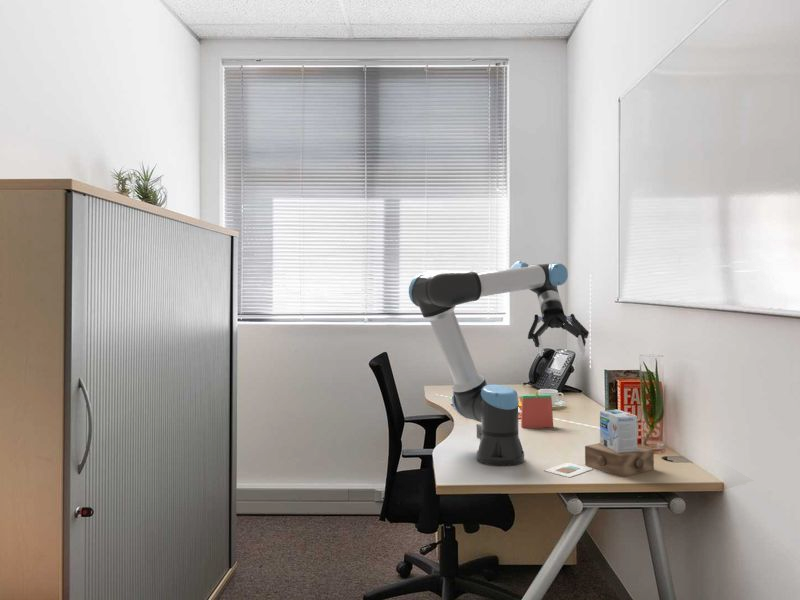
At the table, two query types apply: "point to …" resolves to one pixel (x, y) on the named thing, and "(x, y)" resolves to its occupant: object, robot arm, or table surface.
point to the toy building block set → (536, 411)
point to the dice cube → (479, 431)
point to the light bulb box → (618, 431)
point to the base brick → (619, 460)
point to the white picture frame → (568, 470)
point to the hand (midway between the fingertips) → (562, 353)
